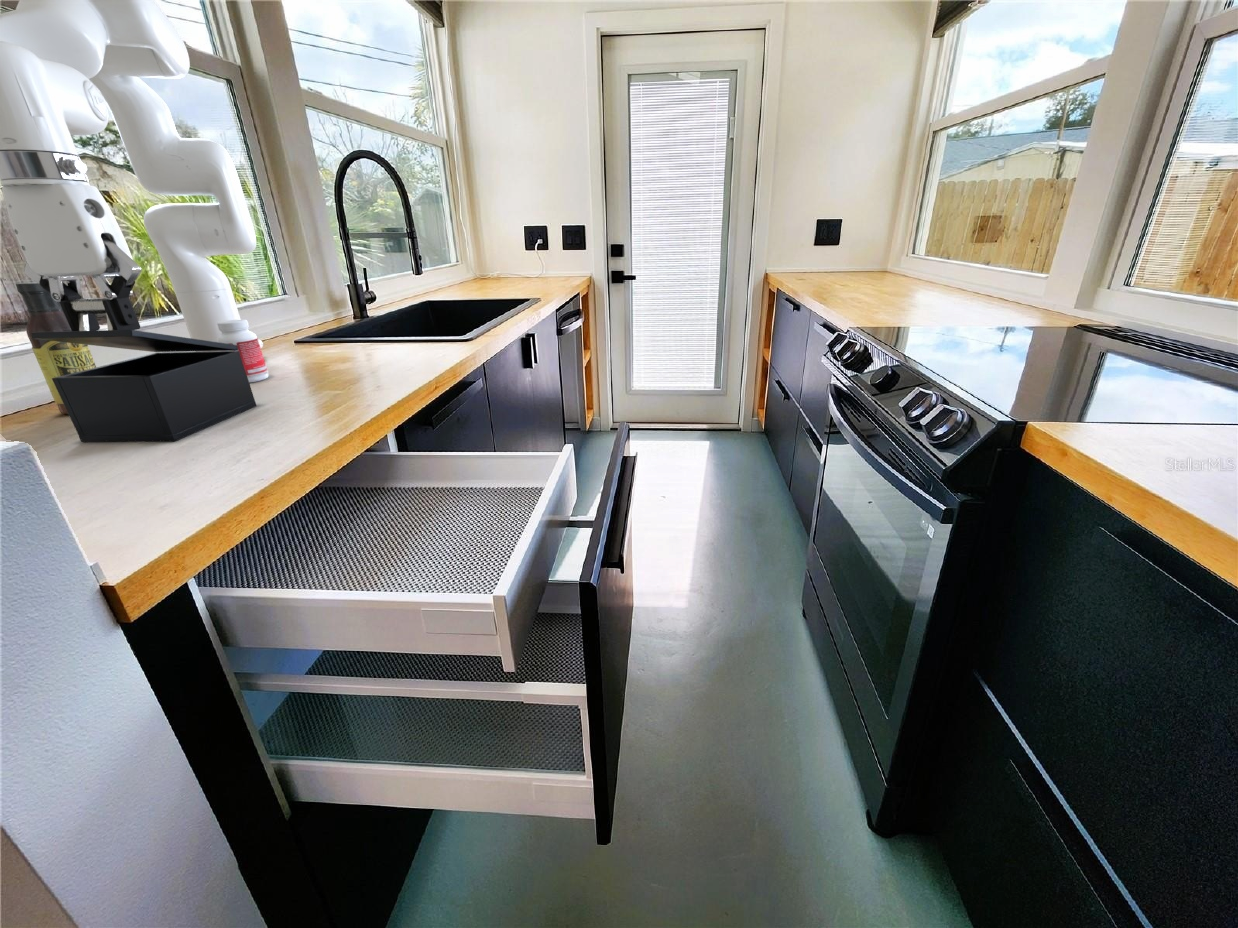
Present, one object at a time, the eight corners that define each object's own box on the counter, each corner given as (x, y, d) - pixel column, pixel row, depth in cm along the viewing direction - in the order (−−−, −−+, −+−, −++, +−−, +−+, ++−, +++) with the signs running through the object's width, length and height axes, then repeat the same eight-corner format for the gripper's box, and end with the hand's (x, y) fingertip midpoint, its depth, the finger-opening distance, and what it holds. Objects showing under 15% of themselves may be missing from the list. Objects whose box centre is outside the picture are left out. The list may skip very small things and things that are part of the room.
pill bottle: (272, 374, 106) (255, 317, 102) (265, 381, 101) (247, 321, 97) (236, 378, 104) (217, 320, 100) (227, 385, 99) (207, 325, 95)
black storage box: (175, 441, 72) (149, 376, 68) (81, 442, 73) (51, 378, 69) (256, 405, 86) (239, 350, 82) (177, 406, 87) (156, 352, 84)
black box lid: (132, 336, 66) (127, 292, 65) (31, 338, 67) (25, 296, 66) (238, 350, 82) (235, 316, 82) (156, 352, 83) (152, 318, 83)
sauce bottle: (80, 416, 84) (19, 284, 76) (50, 415, 85) (-13, 284, 77) (123, 404, 90) (71, 280, 82) (94, 403, 91) (40, 280, 83)
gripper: (138, 173, 65) (191, 325, 72) (13, 180, 67) (77, 328, 74) (76, 166, 58) (142, 334, 65) (-62, 174, 60) (17, 338, 67)
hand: (107, 329), depth 70 cm, fingers closed on black box lid, 5 cm apart
